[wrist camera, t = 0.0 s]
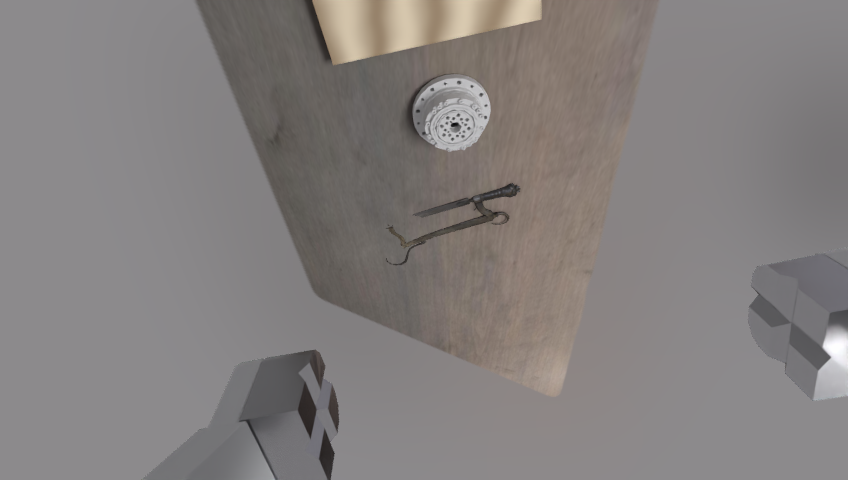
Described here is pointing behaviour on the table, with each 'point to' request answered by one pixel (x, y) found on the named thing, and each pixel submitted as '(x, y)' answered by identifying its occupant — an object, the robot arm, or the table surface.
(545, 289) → the table surface
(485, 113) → the mechanical component
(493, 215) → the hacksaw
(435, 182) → the table surface
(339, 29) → the plank
